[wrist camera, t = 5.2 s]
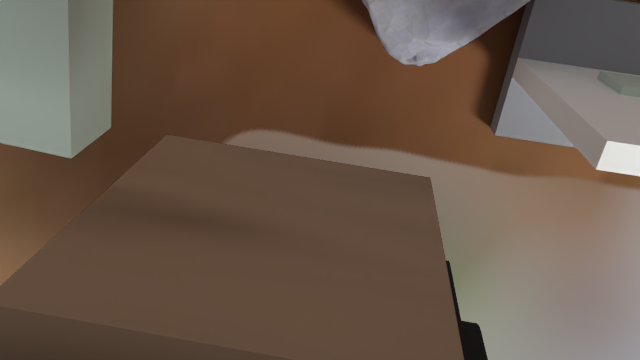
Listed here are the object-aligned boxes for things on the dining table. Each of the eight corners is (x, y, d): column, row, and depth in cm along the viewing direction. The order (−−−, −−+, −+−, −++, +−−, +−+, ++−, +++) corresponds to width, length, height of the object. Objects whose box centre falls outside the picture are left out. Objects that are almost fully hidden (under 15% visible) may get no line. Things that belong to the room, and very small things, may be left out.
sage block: (113, 125, 25) (71, 158, 22) (-47, 90, 25) (-115, 117, 22) (116, -49, 22) (66, -44, 18) (-70, -91, 22) (-157, -94, 18)
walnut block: (381, 375, 14) (379, 647, 9) (167, 335, 14) (36, 576, 9) (430, 177, 11) (470, 392, 6) (166, 134, 12) (-18, 302, 6)
